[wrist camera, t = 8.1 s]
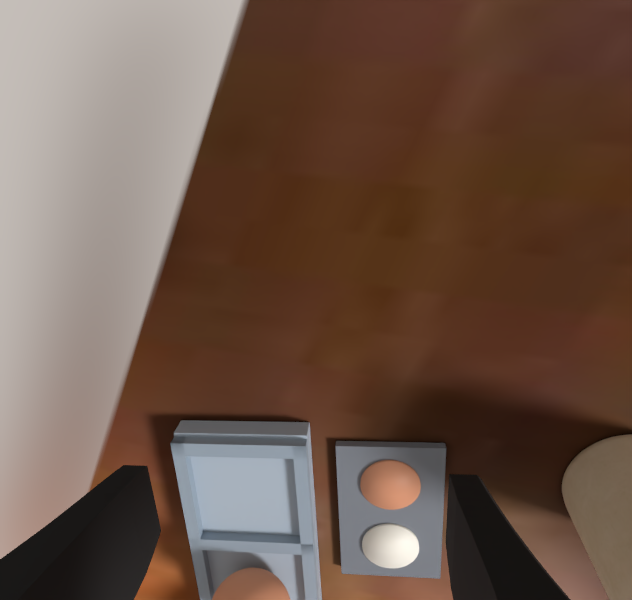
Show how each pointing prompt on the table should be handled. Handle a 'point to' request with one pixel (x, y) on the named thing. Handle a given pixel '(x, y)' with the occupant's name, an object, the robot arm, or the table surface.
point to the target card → (391, 507)
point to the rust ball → (251, 586)
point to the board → (249, 502)
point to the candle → (604, 510)
